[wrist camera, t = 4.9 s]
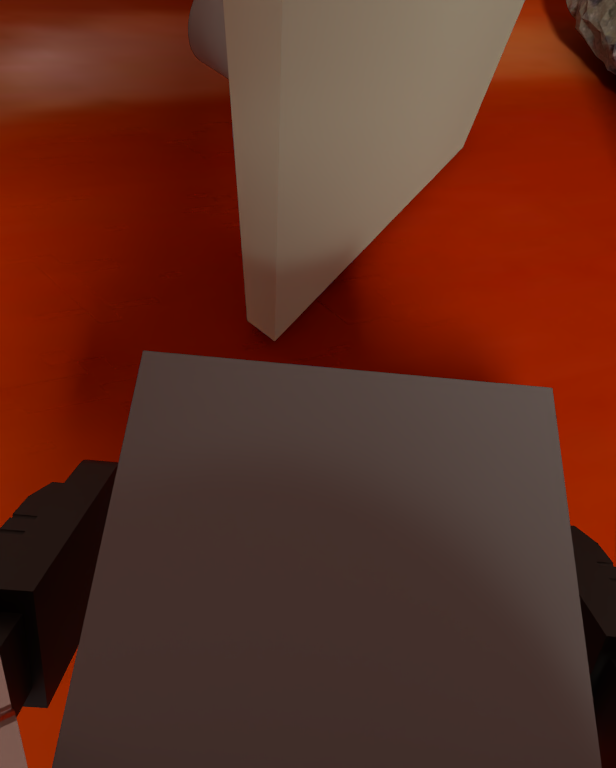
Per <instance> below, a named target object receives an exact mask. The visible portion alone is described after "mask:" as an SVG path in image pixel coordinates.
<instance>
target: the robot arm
mask: <svg viewBox="0 0 616 768" xmlns="http://www.w3.org/2000/svg"><path fill="white" fill-rule="evenodd" d="M118 463H119V462H107V461H95V460H83V461H82V462H81V463H80V464H79V465H78V466H77V468H76V469H75V470H74V471H73V473H72V474H71V475H70V476H69V478H68V479H67V480H66V481H65V483H57V482H52V483H50V484H48V485H47V486H45V487H43V488H42V489H40V490H38V491H37V492H35V493H33V494H32V495H30V496H28V497H27V499H26V500H25V501H24V502H23V503H22V504H21V505H20V507H19V508H18V509H17V510H16V511H15V512H14V513H13V517H12V518H9V519H8V520H7V521H6V522H5V524H4V525H3V526H2V527H1V528H0V768H28V767H27V763H26V758H25V754H24V749H23V745H22V741H21V736H20V732H19V727H18V723H17V719H16V717H17V716H18V714H19V712H20V710H21V708H22V706H25V707H40V708H48V706H49V704H50V702H51V700H52V698H53V696H54V694H55V692H56V690H57V688H58V686H59V684H60V682H61V680H62V678H63V676H64V673H65V671H66V669H67V667H68V665H69V663H70V661H71V659H72V657H73V655H74V653H75V651H76V649H77V647H78V645H79V642H80V637H81V633H82V628H83V623H84V619H85V614H86V610H87V605H88V601H89V596H90V591H91V587H92V582H93V578H94V573H95V568H96V564H97V559H98V555H99V550H100V546H101V541H102V536H103V532H104V527H105V523H106V518H107V514H108V509H109V504H110V500H111V495H112V491H113V486H114V482H115V477H116V472H117V468H118ZM570 528H571V535H572V543H573V551H574V558H575V566H576V574H577V582H578V589H579V597H580V605H581V612H582V620H583V628H584V635H585V643H586V651H587V658H588V666H589V674H590V681H591V689H592V697H593V704H594V712H595V720H596V727H597V735H598V743H599V750H600V758H601V766H602V768H616V567H613V562H612V561H611V560H610V558H609V557H608V556H607V555H606V553H605V552H604V551H603V550H602V548H601V547H600V546H599V545H598V543H596V542H595V541H594V540H592V539H591V538H590V537H588V536H587V535H586V534H584V533H583V532H582V531H580V530H579V529H578V528H576V527H575V526H570Z"/></svg>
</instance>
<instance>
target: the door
mask: <svg viewBox="0 0 616 768" xmlns="http://www.w3.org/2000/svg"><path fill="white" fill-rule="evenodd" d="M524 1H525V0H194V1H193V4H192V7H191V11H190V15H189V22H188V36H189V43H190V46H191V49H192V51H193V53H194V55H195V56H196V57H197V58H198V59H199V60H200V61H201V62H203V63H205V64H206V65H208V66H209V67H211V68H212V69H214V70H215V71H217V72H218V73H220V74H222V75H223V76H225V77H226V78H228V79H229V87H230V100H231V114H232V127H233V140H234V153H235V167H236V180H237V193H238V206H239V219H240V233H241V246H242V259H243V272H244V286H245V299H246V312H247V321H249V322H250V323H251V324H252V325H254V326H255V327H256V328H258V329H259V330H260V331H262V332H263V333H264V334H266V335H267V336H268V337H270V338H271V339H272V340H273V341H276V340H277V339H278V337H279V336H280V335H281V334H282V333H283V332H284V331H285V330H286V329H287V328H288V327H289V326H290V325H291V324H292V323H293V322H294V321H295V320H296V319H297V318H298V317H299V316H300V315H301V314H302V313H303V312H304V311H305V310H306V309H307V308H308V307H309V305H310V304H311V303H312V302H313V301H314V300H315V299H316V298H317V297H318V296H319V295H320V294H321V293H322V292H323V291H324V290H325V289H326V288H327V287H328V286H329V285H330V284H331V283H332V282H333V281H334V280H335V279H336V278H337V277H338V276H339V275H340V274H341V272H342V271H343V270H344V269H345V268H346V267H347V266H348V265H349V264H350V263H351V262H352V261H353V260H354V259H355V258H356V257H357V256H358V255H359V254H360V253H361V252H362V251H363V250H364V249H365V248H366V247H367V246H368V245H369V244H370V243H371V242H372V240H373V239H374V238H375V237H376V236H377V235H378V234H379V233H380V232H381V231H382V230H383V229H384V228H385V227H386V226H387V225H388V224H389V223H390V222H391V221H392V220H393V219H394V218H395V217H396V216H397V215H398V214H399V213H400V212H401V211H402V210H403V208H404V207H405V206H406V205H407V204H408V203H409V202H410V201H411V200H412V199H413V198H414V197H415V196H416V195H417V194H418V193H419V192H420V191H421V190H422V189H423V188H424V187H425V186H426V185H427V184H428V183H429V182H430V181H431V180H432V179H433V178H434V176H435V175H436V174H437V173H438V172H439V171H440V170H441V169H442V168H443V167H444V166H445V165H446V164H447V163H448V162H449V161H450V160H451V159H452V158H453V157H454V156H455V155H456V154H457V153H458V152H459V151H460V150H461V149H462V148H463V146H464V143H465V141H466V139H467V136H468V134H469V131H470V129H471V127H472V124H473V122H474V120H475V117H476V115H477V112H478V110H479V108H480V105H481V103H482V101H483V98H484V96H485V94H486V91H487V89H488V86H489V84H490V82H491V79H492V77H493V75H494V72H495V70H496V67H497V65H498V63H499V60H500V58H501V56H502V53H503V51H504V48H505V46H506V44H507V41H508V39H509V37H510V34H511V32H512V29H513V27H514V25H515V22H516V20H517V18H518V15H519V13H520V11H521V8H522V6H523V3H524Z"/></svg>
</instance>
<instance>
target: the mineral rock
mask: <svg viewBox="0 0 616 768" xmlns="http://www.w3.org/2000/svg"><path fill="white" fill-rule="evenodd" d="M566 3H567V7H568V9H569V11H570V13H571V15H572V16H573V17H574V18H575V19H576V28H575V29H576V30H577V31H578V32H579V33H580V34H581V35H582V37H583V38H584V39H585V41H586V42H587V44H588V45H589V47H590V48H591V50H592V51H593V53H594V54H595V55H596V57H598V58H599V59H600V60H601V61H603V62H604V63H605V66H606V69H607V71H610V72H612V73H613V74H615V75H616V0H566Z"/></svg>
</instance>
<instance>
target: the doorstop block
mask: <svg viewBox="0 0 616 768" xmlns="http://www.w3.org/2000/svg"><path fill="white" fill-rule="evenodd" d="M52 768H602V766H601V758H600V750H599V743H598V735H597V727H596V720H595V712H594V704H593V697H592V689H591V681H590V674H589V666H588V658H587V651H586V643H585V635H584V628H583V620H582V612H581V605H580V597H579V589H578V582H577V574H576V566H575V558H574V551H573V543H572V535H571V528H570V520H569V512H568V505H567V497H566V489H565V482H564V474H563V466H562V459H561V451H560V443H559V436H558V428H557V420H556V413H555V405H554V397H553V390H552V388H547V387H536V386H525V385H514V384H503V383H492V382H481V381H470V380H459V379H449V378H438V377H427V376H416V375H405V374H394V373H383V372H372V371H361V370H350V369H339V368H328V367H317V366H306V365H295V364H285V363H274V362H263V361H252V360H241V359H230V358H219V357H208V356H197V355H186V354H175V353H164V352H153V351H143V353H142V358H141V363H140V367H139V372H138V376H137V381H136V385H135V390H134V395H133V399H132V404H131V408H130V413H129V417H128V422H127V427H126V431H125V436H124V440H123V445H122V449H121V454H120V459H119V463H118V468H117V472H116V477H115V482H114V486H113V491H112V495H111V500H110V504H109V509H108V514H107V518H106V523H105V527H104V532H103V536H102V541H101V546H100V550H99V555H98V559H97V564H96V568H95V573H94V578H93V582H92V587H91V591H90V596H89V601H88V605H87V610H86V614H85V619H84V623H83V628H82V633H81V637H80V642H79V646H78V651H77V655H76V660H75V665H74V669H73V674H72V678H71V683H70V687H69V692H68V697H67V701H66V706H65V710H64V715H63V720H62V724H61V729H60V733H59V738H58V742H57V747H56V752H55V756H54V761H53V765H52Z"/></svg>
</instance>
